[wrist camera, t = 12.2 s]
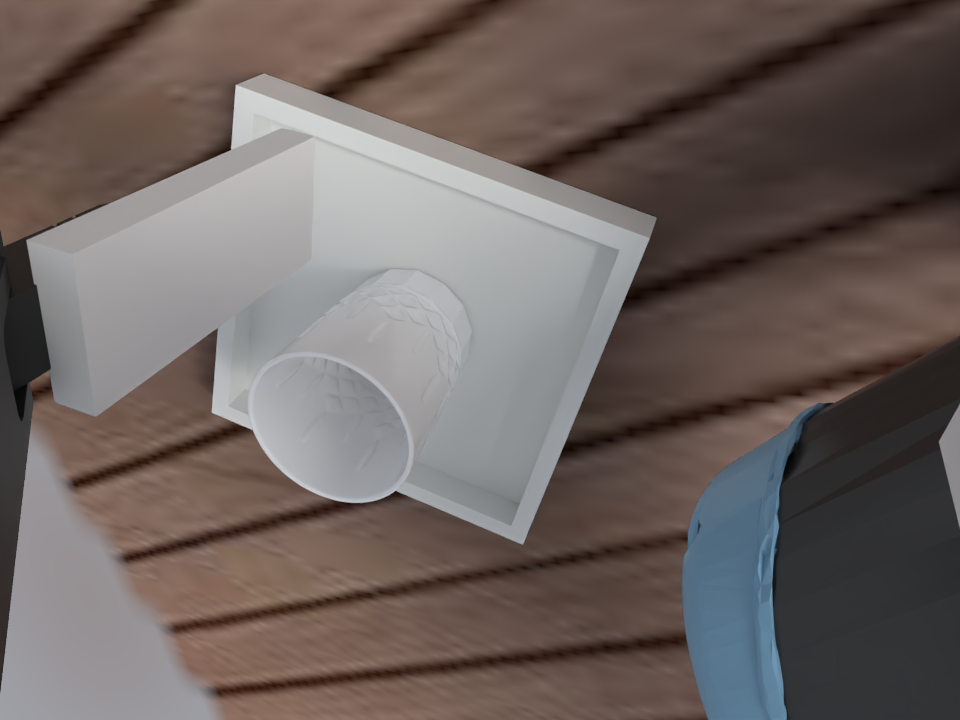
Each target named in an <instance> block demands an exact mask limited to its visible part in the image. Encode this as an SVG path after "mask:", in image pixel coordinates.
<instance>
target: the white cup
mask: <svg viewBox="0 0 960 720" xmlns="http://www.w3.org/2000/svg"><path fill="white" fill-rule="evenodd" d="M471 338H472V328H471V325H470V322H469V319H468V316H467V313H466V310H465V307H464V305H463V304H462V303H461V301H460V300H459V299H458V298H457V297H456V296H455V295H454V294H453V292H452V291H451V290H450V289H449V288H448V287H447V286H446V285H445V284H444V283H443V282H441V281H439V280H437V279H435V278H433V277H431V276H429V275H427V274H425V273H423V272H421V271H419V270H407V269H389V270H387V271H384V272H382V273H380V274H378V275H376V276H373V277H371V278H369V279H367V280H366V281H365V282H364V283H363V284H362V285H361V286H359V287H358V288H357V289H356V290H355V291H354V292H352V293H351V294H349V295H348V296H346V297H345V298H343V299H342V300H341V301H339V302H338V303H337V304H335V305H334V306H333V307H332V308H331V309H330V310H329V311H327V312H326V313H325V314H323V315H322V316H320V317H319V318H318V319H317V320H316V321H314V322H313V323H312V324H311V325H310V326H309V327H308V328H306V329H305V330H304V331H303V332H302V333H301V334H299V335H298V336H297V337H296V338H295V339H294V340H293V341H291V342H290V343H289V344H288V345H287V346H286V347H284V348H283V349H282V350H281V351H280V352H279V353H277V354H276V355H275V356H274V357H273V358H271V359H270V360H269V361H268V362H267V363H266V364H264V365H263V366H262V367H261V368H260V369H259V371H258V372H257V373H256V375H255V376H254V378H253V380H252V382H251V385H250V388H249V392H248V401H247V406H248V415H249V420H250V424H251V427H252V430H253V432H254V434H255V437H256V439H257V441H258V442H259V444H260V446H261V447H262V449H263V450H264V452H265V453H266V455H267V456H268V457H269V458H270V460H271V461H272V462H273V463H274V464H275V465H276V466H277V467H278V468H279V469H280V470H281V471H282V472H283V473H284V474H285V475H287V476H288V477H289V478H290V479H292V480H293V481H294V482H296V483H297V484H299V485H300V486H302V487H304V488H305V489H307V490H309V491H311V492H313V493H315V494H318V495H320V496H323V497H326V498H329V499H332V500H336V501H341V502H349V503H364V502H371V501H376V500H379V499H382V498H384V497H386V496H388V495H390V494H392V493H393V492H395V491H396V490H397V489H398V488H399V487H400V486H401V485H402V484H403V483H404V482H405V480H406V479H407V477H408V475H409V473H410V471H411V469H412V467H413V466H414V464H415V462H416V460H417V458H418V456H419V454H420V452H421V450H422V448H423V447H424V445H425V443H426V441H427V439H428V437H429V435H430V433H431V432H432V430H433V428H434V426H435V424H436V422H437V420H438V418H439V417H440V415H441V413H442V411H443V408H444V406H445V404H446V402H447V400H448V398H449V396H450V394H451V392H452V390H453V388H454V385H455V382H456V380H457V377H458V374H459V373H460V371H461V369H462V367H463V365H464V364H465V362H466V360H467V358H468V356H469V351H470V344H471Z"/></svg>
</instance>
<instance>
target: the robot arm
mask: <svg viewBox="0 0 960 720" xmlns="http://www.w3.org/2000/svg"><path fill="white" fill-rule="evenodd" d="M314 151H315V136H311V135H307V134H303V133H299V132H296V131H292V130H288V129H284V128H280V129H278V130H276V131H273V132H271V133H269V134H267V135H264V136H262V137H260V138H258V139H255V140H253V141H251V142H248V143H246V144H244V145H242V146H239V147H237V148H235V149H232V150H230V151H228V152H226V153H223V154H221V155H219V156H217V157H214V158H212V159H210V160H207V161H205V162H203V163H201V164H198V165H196V166H194V167H192V168H189V169H187V170H185V171H182V172H180V173H178V174H176V175H173V176H171V177H169V178H167V179H164V180H162V181H160V182H157V183H155V184H153V185H151V186H148V187H146V188H144V189H142V190H139V191H137V192H135V193H132V194H130V195H128V196H126V197H123V198H121V199H119V200H116V201H114V202H112V203H108V204H103V205H99V206H96V207H94V208H92V209H89V210H87V211H85V212H82V213H80V214H78V215H76V218H72V217H71V218H69V219H66V220H64V221H62V222H60V223H57V226H56V227H55V226H50V227H48V228H46V229H43V230H41V231H39V232H37V233H34V234H32V235H30V236H27V237H25V238H23V239H20V240H18V241H16V242H14V243H11V244H9V245H7V246H4V247H3V242H2V237H1V232H0V690H1V681H2V673H3V664H4V655H5V646H6V637H7V628H8V620H9V611H10V601H11V593H12V585H13V576H14V567H15V558H16V550H17V541H18V532H19V523H20V515H21V506H22V497H23V487H24V480H25V470H26V462H27V453H28V445H29V436H30V427H31V418H32V410H33V398H32V393H31V387H30V382H31V381H32V380H34V379H35V378H37V377H39V376H40V375H42V374H43V373H45V372H47V371H48V370H49V372H50V378H51V384H52V389H53V395H54V401H55V403H58V404H61V405H64V406H67V407H69V408H72V409H75V410H78V411H80V412H83V413H86V414H89V415H92V416H94V417H97V416H98V415H99V414H101V413H102V412H103V411H105V410H106V409H108V408H109V407H110V406H112V405H113V404H114V403H116V402H117V401H118V400H120V399H121V398H123V397H124V396H125V395H127V394H128V393H129V392H131V391H132V390H133V389H135V388H136V387H138V386H139V385H140V384H142V383H143V382H144V381H146V380H147V379H149V378H150V377H151V376H153V375H154V374H155V373H157V372H158V371H159V370H161V369H162V368H164V367H165V366H166V365H168V364H169V363H170V362H172V361H173V360H174V359H176V358H177V357H179V356H180V355H181V354H183V353H184V352H185V351H187V350H188V349H190V348H191V347H192V346H194V345H195V344H196V343H198V342H199V341H200V340H202V339H203V338H205V337H206V336H207V335H209V334H210V333H211V332H213V331H214V330H215V329H217V328H218V327H220V326H221V325H222V324H224V323H225V322H226V321H228V320H229V319H231V318H232V317H233V316H235V315H236V314H237V313H239V312H240V311H241V310H243V309H244V308H246V307H247V306H248V305H250V304H251V303H252V302H254V301H255V300H256V299H258V298H259V297H261V296H262V295H263V294H265V293H266V292H267V291H269V290H270V289H272V288H273V287H274V286H276V285H277V284H278V283H280V282H281V281H282V280H284V279H285V278H287V277H288V276H289V275H291V274H292V273H293V272H295V271H296V270H297V269H299V268H300V267H302V266H303V265H304V264H306V263H307V262H308V261H310V260H311V258H312V223H313V187H314ZM682 602H683V615H684V623H685V631H686V638H687V644H688V649H689V655H690V659H691V663H692V668H693V672H694V676H695V679H696V683H697V687H698V690H699V694H700V697H701V700H702V703H703V706H704V709H705V712H706V715H707V718H708V720H960V335H959V336H958V337H956V338H954V339H952V340H950V341H949V342H947V343H945V344H943V345H941V346H939V347H938V348H936V349H934V350H932V351H930V352H929V353H927V354H925V355H923V356H921V357H920V358H918V359H916V360H914V361H912V362H911V363H909V364H907V365H905V366H903V367H901V368H899V369H897V370H895V371H894V372H892V373H890V374H888V375H886V376H884V377H882V378H880V379H879V380H877V381H875V382H873V383H871V384H869V385H867V386H865V387H864V388H862V389H860V390H858V391H856V392H854V393H852V394H850V395H849V396H847V397H845V398H843V399H841V400H839V401H837V402H835V403H826V404H823V403H818V404H816V405H814V406H812V407H810V408H808V409H806V410H804V411H803V412H801V413H800V414H799V415H798V416H797V417H796V418H795V419H794V420H793V421H792V422H791V424H790V426H789V427H788V428H787V429H786V430H784V431H782V432H781V433H779V434H778V435H776V436H774V437H773V438H771V439H769V440H768V441H766V442H765V443H763V444H761V445H760V446H758V447H757V448H755V449H753V450H752V451H750V452H748V453H747V454H745V455H744V456H742V457H740V458H739V459H737V460H736V461H734V462H732V463H731V464H729V465H728V466H727V467H725V468H724V469H723V470H722V471H721V472H720V473H718V474H717V475H716V476H715V478H714V479H713V480H712V481H711V482H710V484H709V485H708V486H707V488H706V489H705V491H704V492H703V494H702V495H701V497H700V499H699V501H698V503H697V505H696V507H695V509H694V513H693V516H692V520H691V524H690V527H689V530H688V550H687V552H686V553H685V555H684V559H683V567H682Z"/></svg>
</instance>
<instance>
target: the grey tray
mask: <svg viewBox="0 0 960 720" xmlns="http://www.w3.org/2000/svg"><path fill="white" fill-rule="evenodd" d="M280 128H284V129H288V130H292V131H296V132H299V133H303V134H307V135H311V136H315V151H314V187H313V223H312V258H311V260H310V261H308V262H307V263H306V264H304V265H303V266H302V267H300V268H299V269H297V270H296V271H295V272H293V273H292V274H291V275H289V276H288V277H287V278H285V279H284V280H282V281H281V282H280V283H278V284H277V285H276V286H274V287H273V288H272V289H270V290H269V291H267V292H266V293H265V294H263V295H262V296H261V297H259V298H258V299H256V300H255V301H254V302H252V303H251V304H250V305H248V306H247V307H246V308H244V309H243V310H241V311H240V312H239V313H237V314H236V315H235V316H233V317H232V318H231V319H229V320H228V321H226V322H225V323H224V324H222V325H221V326H220V327H218V334H217V348H216V361H215V375H214V389H213V402H212V413H214V414H216V415H219V416H221V417H223V418H226V419H228V420H230V421H233V422H235V423H237V424H240V425H242V426H244V427H247V428H249V429H251V430H252V427H251V424H250V420H249V415H248V406H247V401H248V392H249V388H250V385H251V382H252V380H253V378H254V376H255V375H256V373H257V372H258V371H259V369H260V368H261V367H262V366H263V365H264V364H266V363H267V362H268V361H269V360H270V359H271V358H273V357H274V356H275V355H276V354H277V353H279V352H280V351H281V350H282V349H283V348H284V347H286V346H287V345H288V344H289V343H290V342H291V341H293V340H294V339H295V338H296V337H297V336H298V335H299V334H301V333H302V332H303V331H304V330H305V329H306V328H308V327H309V326H310V325H311V324H312V323H313V322H314V321H316V320H317V319H318V318H319V317H320V316H322V315H323V314H325V313H326V312H327V311H329V310H330V309H331V308H332V307H333V306H334V305H335V304H337V303H338V302H339V301H341V300H342V299H343V298H345V297H346V296H348V295H349V294H351V293H352V292H354V291H355V290H356V289H357V288H358V287H359V286H361V285H362V284H363V283H364V282H365V281H366V280H367V279H369V278H371V277H373V276H376V275H378V274H380V273H382V272H384V271H387V270H389V269H407V270H419V271H421V272H423V273H425V274H427V275H429V276H431V277H433V278H435V279H437V280H439V281H441V282H443V283H444V284H445V285H446V286H447V287H448V288H449V289H450V290H451V291H452V292H453V294H454V295H455V296H456V297H457V298H458V299H459V300H460V301H461V303H462V304H463V305H464V307H465V310H466V313H467V316H468V319H469V322H470V325H471V328H472V338H471V344H470V351H469V356H468V358H467V360H466V362H465V364H464V365H463V367H462V369H461V371H460V373H459V374H458V377H457V380H456V382H455V385H454V388H453V390H452V392H451V394H450V396H449V398H448V400H447V402H446V404H445V406H444V408H443V411H442V413H441V415H440V417H439V418H438V420H437V422H436V424H435V426H434V428H433V430H432V432H431V433H430V435H429V437H428V439H427V441H426V443H425V445H424V447H423V448H422V450H421V452H420V454H419V456H418V458H417V460H416V462H415V464H414V466H413V467H412V469H411V471H410V473H409V475H408V477H407V479H406V480H405V482H404V483H403V484H402V485H401V486H400V487H399V488H398V489H397V490H396V491H397V492H400V493H402V494H404V495H407V496H409V497H412V498H414V499H416V500H419V501H421V502H423V503H426V504H428V505H430V506H433V507H435V508H437V509H440V510H442V511H444V512H447V513H449V514H452V515H454V516H456V517H459V518H461V519H463V520H466V521H468V522H470V523H473V524H475V525H477V526H480V527H482V528H484V529H487V530H489V531H492V532H494V533H496V534H499V535H501V536H503V537H506V538H508V539H510V540H513V541H515V542H517V543H520V544H522V545H523V543H524V541H525V538H526V536H527V533H528V531H529V529H530V526H531V524H532V521H533V519H534V517H535V514H536V512H537V509H538V507H539V505H540V502H541V500H542V497H543V495H544V492H545V490H546V488H547V485H548V483H549V480H550V478H551V476H552V473H553V471H554V468H555V466H556V464H557V461H558V459H559V456H560V454H561V451H562V449H563V447H564V444H565V442H566V439H567V437H568V435H569V432H570V430H571V427H572V425H573V423H574V420H575V418H576V415H577V413H578V410H579V408H580V406H581V403H582V401H583V398H584V396H585V394H586V391H587V389H588V386H589V384H590V382H591V379H592V377H593V374H594V372H595V369H596V367H597V365H598V362H599V360H600V357H601V355H602V353H603V350H604V348H605V345H606V343H607V340H608V338H609V336H610V333H611V331H612V328H613V326H614V324H615V321H616V319H617V316H618V314H619V312H620V309H621V307H622V304H623V302H624V299H625V297H626V295H627V292H628V290H629V287H630V285H631V283H632V280H633V278H634V275H635V273H636V271H637V268H638V266H639V263H640V261H641V258H642V256H643V254H644V251H645V249H646V246H647V244H648V242H649V239H650V236H651V234H652V231H653V228H654V225H655V222H656V219H657V218H656V217H654V216H651V215H648V214H646V213H643V212H640V211H637V210H635V209H632V208H629V207H626V206H624V205H621V204H618V203H616V202H613V201H610V200H607V199H605V198H602V197H599V196H597V195H594V194H591V193H588V192H586V191H583V190H580V189H577V188H575V187H572V186H569V185H567V184H564V183H561V182H558V181H556V180H553V179H550V178H548V177H545V176H542V175H539V174H537V173H534V172H531V171H528V170H526V169H523V168H520V167H518V166H515V165H512V164H509V163H507V162H504V161H501V160H499V159H496V158H493V157H490V156H488V155H485V154H482V153H479V152H477V151H474V150H471V149H469V148H466V147H463V146H460V145H458V144H455V143H452V142H449V141H447V140H444V139H441V138H439V137H436V136H433V135H430V134H428V133H425V132H422V131H420V130H417V129H414V128H411V127H409V126H406V125H403V124H400V123H398V122H395V121H392V120H390V119H387V118H384V117H381V116H379V115H376V114H373V113H371V112H368V111H365V110H362V109H360V108H357V107H354V106H351V105H349V104H346V103H343V102H341V101H338V100H335V99H332V98H330V97H327V96H324V95H322V94H319V93H316V92H313V91H311V90H308V89H305V88H302V87H300V86H297V85H294V84H292V83H289V82H286V81H283V80H281V79H278V78H275V77H273V76H270V75H267V74H261V75H259V76H256V77H254V78H251V79H249V80H247V81H244V82H242V83H239V84H237V85H236V89H235V103H234V117H233V130H232V144H231V150H232V149H235V148H237V147H239V146H242V145H244V144H246V143H248V142H251V141H253V140H255V139H258V138H260V137H262V136H264V135H267V134H269V133H271V132H273V131H276V130H278V129H280Z"/></svg>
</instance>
